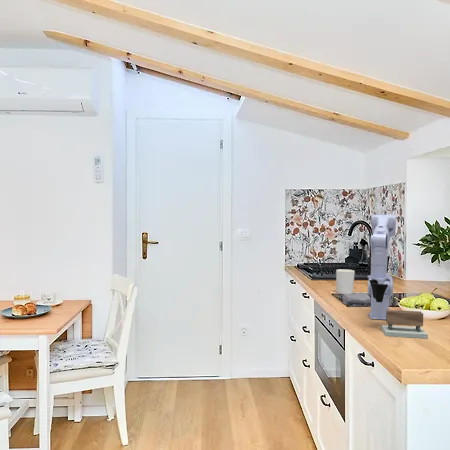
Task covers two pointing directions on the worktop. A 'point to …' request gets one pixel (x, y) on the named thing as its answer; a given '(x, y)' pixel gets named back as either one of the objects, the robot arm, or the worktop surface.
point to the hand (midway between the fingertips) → (377, 300)
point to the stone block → (357, 298)
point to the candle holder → (345, 281)
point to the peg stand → (404, 331)
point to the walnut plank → (404, 318)
